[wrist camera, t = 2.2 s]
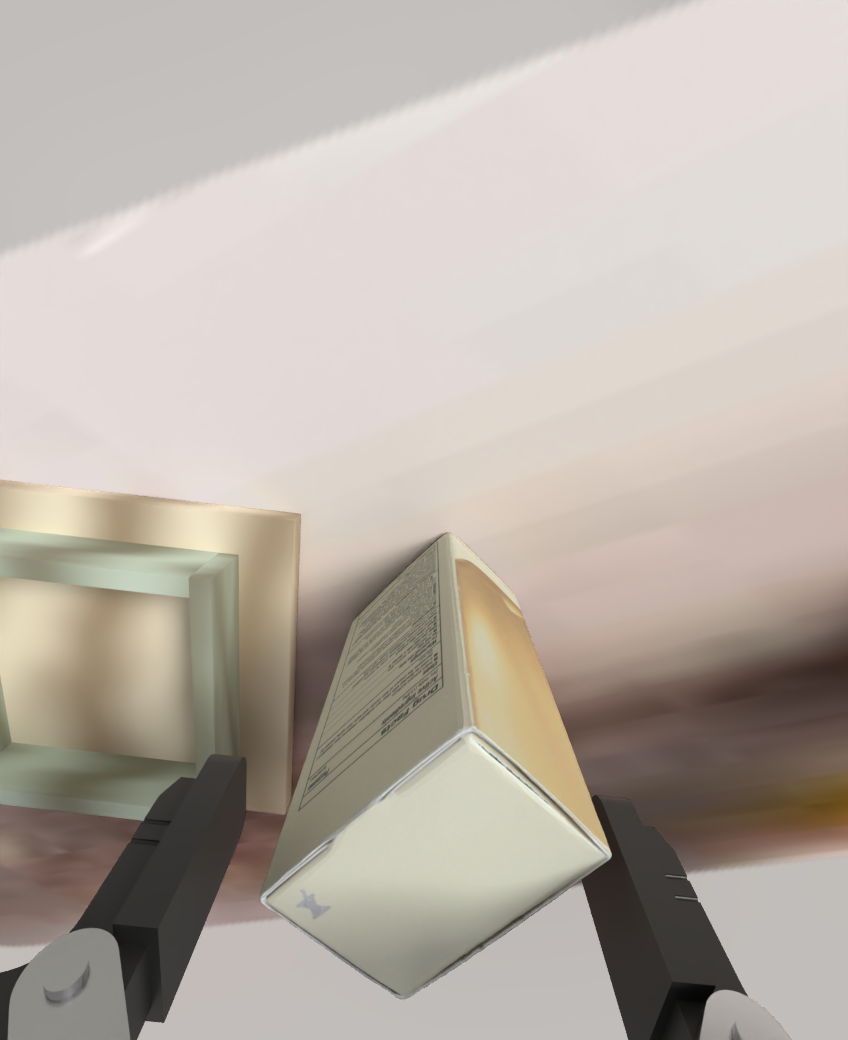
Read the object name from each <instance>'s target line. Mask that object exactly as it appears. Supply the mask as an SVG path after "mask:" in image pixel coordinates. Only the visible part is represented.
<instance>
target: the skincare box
mask: <svg viewBox="0 0 848 1040" xmlns="http://www.w3.org/2000/svg"><path fill="white" fill-rule="evenodd" d="M611 856H612V853H611V851H610V848H609V845H608V843H607V840H606V837H605V834H604V831H603V829H602V826H601V824H600V821H599V819H598V816H597V814H596V811H595V808H594V805H593V803H592V800H591V797H590V794H589V791H588V789H587V786H586V784H585V781H584V778H583V776H582V773H581V770H580V768H579V765H578V762H577V760H576V757H575V754H574V751H573V749H572V746H571V743H570V741H569V738H568V735H567V732H566V730H565V727H564V725H563V722H562V720H561V717H560V714H559V711H558V709H557V706H556V703H555V701H554V698H553V695H552V693H551V690H550V687H549V684H548V682H547V679H546V676H545V674H544V671H543V668H542V665H541V663H540V660H539V658H538V655H537V652H536V650H535V647H534V644H533V642H532V639H531V636H530V634H529V631H528V629H527V626H526V623H525V620H524V618H523V615H522V612H521V610H520V607H519V604H518V602H517V599H516V597H515V595H514V594H513V593H512V592H511V591H510V590H509V589H508V587H507V586H506V585H505V584H504V583H503V582H502V581H501V580H500V579H499V578H498V577H497V576H496V575H495V574H494V573H493V572H492V571H491V570H490V569H489V568H488V567H487V566H486V565H485V564H484V563H483V562H482V561H481V560H480V559H479V558H478V557H477V556H476V555H475V554H474V553H473V552H472V551H471V550H470V549H469V548H468V547H467V546H466V545H465V544H464V543H463V542H462V541H461V540H460V539H459V538H457V537H456V536H455V535H454V534H452V533H450V532H449V533H445V534H444V535H443V536H442V537H441V538H439V539H438V540H437V541H436V542H435V543H434V544H433V545H431V546H430V547H429V548H428V549H427V550H426V551H425V552H424V553H423V554H421V555H420V556H419V557H418V558H417V559H416V560H415V561H414V562H413V563H412V564H411V565H409V566H408V567H407V568H406V569H405V570H404V571H403V572H402V573H401V574H400V575H399V576H398V577H397V578H396V579H395V580H394V581H393V582H392V583H391V584H390V585H388V586H387V587H386V588H385V589H384V590H383V591H382V592H381V593H380V594H379V595H378V596H377V597H376V598H375V599H374V600H373V601H372V602H371V603H370V604H369V605H368V606H367V607H366V608H365V609H364V610H363V611H362V612H361V613H360V615H359V616H358V617H357V618H355V619H354V621H353V622H352V624H351V627H350V630H349V633H348V636H347V639H346V642H345V645H344V648H343V651H342V654H341V657H340V660H339V663H338V666H337V669H336V672H335V675H334V678H333V681H332V684H331V686H330V689H329V692H328V695H327V698H326V701H325V704H324V707H323V710H322V713H321V716H320V719H319V722H318V725H317V728H316V731H315V734H314V737H313V740H312V742H311V745H310V748H309V751H308V754H307V757H306V760H305V763H304V766H303V769H302V772H301V775H300V778H299V781H298V784H297V787H296V789H295V792H294V795H293V798H292V801H291V804H290V807H289V810H288V813H287V817H286V819H285V822H284V825H283V828H282V831H281V834H280V837H279V840H278V843H277V845H276V849H275V852H274V855H273V858H272V861H271V864H270V867H269V870H268V872H267V876H266V879H265V881H264V884H263V887H262V889H261V893H260V896H259V899H260V902H261V903H262V904H264V905H265V906H266V907H267V908H268V909H270V910H271V911H273V912H275V913H276V914H278V915H279V916H281V917H283V918H284V919H286V920H287V921H288V922H289V923H290V924H292V925H293V926H294V927H296V928H297V929H299V930H300V931H301V932H303V933H304V934H306V935H307V936H309V937H310V938H311V939H313V940H314V941H316V942H317V943H318V944H320V945H321V946H323V947H324V948H325V949H327V950H329V951H330V952H331V953H333V954H334V955H335V956H337V957H338V958H339V959H341V960H342V961H344V962H345V963H347V964H348V965H350V966H351V967H353V968H354V969H355V970H357V971H358V972H359V973H361V974H362V975H364V976H365V977H367V978H368V979H370V980H371V981H373V982H374V983H376V984H378V985H380V986H381V987H382V988H384V989H386V990H388V991H389V992H391V993H392V994H393V995H394V996H395V997H397V998H399V999H407V998H409V997H411V996H412V995H414V994H415V993H416V992H418V991H420V990H421V989H423V988H425V987H427V986H428V985H429V984H431V983H433V982H434V981H436V980H437V979H439V978H440V977H442V976H444V975H446V974H447V973H448V972H449V971H451V970H453V969H455V968H456V967H458V966H459V965H461V964H462V963H463V962H466V961H467V960H468V959H470V958H471V957H472V956H473V955H475V954H477V953H478V952H480V951H481V950H483V949H484V948H486V947H487V946H488V945H490V944H491V943H493V942H494V941H496V940H497V939H499V938H501V937H502V936H503V935H505V934H506V933H507V932H509V931H510V930H512V929H513V928H514V927H516V926H518V925H519V924H520V923H522V922H523V921H525V920H526V919H527V918H529V917H530V916H532V915H533V914H534V913H536V912H538V911H539V910H540V909H541V908H543V907H544V906H546V905H547V904H549V903H550V902H552V901H553V900H555V899H556V898H557V897H559V896H560V895H561V894H563V893H564V892H565V891H566V890H568V889H569V888H571V887H572V886H574V885H575V884H577V883H578V882H579V881H580V880H582V879H583V878H584V877H585V876H587V875H588V874H590V873H591V872H593V871H594V870H595V869H597V868H598V867H600V866H601V865H603V864H604V863H605V862H607V861H608V860H610V858H611Z"/></svg>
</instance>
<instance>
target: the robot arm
mask: <svg viewBox="0 0 848 1040" xmlns="http://www.w3.org/2000/svg"><path fill="white" fill-rule="evenodd" d="M246 779H247V762H246V758H245V757H238V756H229V755H219V754H211V755H210V756H209V757H208V759H207V760H206V762H205V764H204V766H203V767H202V769H201V771H200V773H199V774H198V776H197V778H186V777H180V778H179V779H178V780H177V781H176V782H174V783H173V784H172V785H171V786H170V787H169V788H167V789H166V790H165V791H164V792H163V793H162V794H160V795H159V796H158V798H157V800H156V801H155V803H154V804H153V806H152V807H151V809H150V811H149V812H148V814H147V815H146V817H145V818H144V822H143V823H141V825H140V826H139V828H138V829H137V831H136V832H135V834H134V836H133V837H132V841H131V843H128V845H127V847H126V848H125V850H124V851H123V853H122V854H121V856H120V858H119V859H118V861H117V862H116V864H115V865H114V867H113V868H112V870H111V872H110V873H109V875H108V876H107V878H106V879H105V881H104V883H103V884H102V886H101V887H100V889H99V890H98V892H97V894H96V895H95V897H94V898H93V900H92V901H91V903H90V904H89V906H88V908H87V909H86V911H85V912H84V914H83V915H82V917H81V918H80V920H79V921H78V923H77V924H76V925H75V927H74V928H73V929H72V930H71V931H70V933H69V934H66V935H64V936H62V937H60V938H59V939H57V940H55V941H54V942H52V943H51V944H49V945H48V946H47V947H45V948H44V949H43V950H42V951H41V952H39V954H37V956H35V958H34V959H33V960H31V962H30V963H28V964H25V965H23V966H21V967H18V968H15V969H12V970H9V971H5V972H1V973H0V1040H137V1038H138V1036H139V1034H140V1031H141V1029H142V1027H143V1025H144V1022H145V1021H152V1022H162V1023H164V1021H165V1019H166V1017H167V1014H168V1011H169V1009H170V1007H171V1005H172V1002H173V1000H174V997H175V995H176V992H177V990H178V987H179V985H180V982H181V980H182V978H183V975H184V973H185V970H186V968H187V965H188V963H189V960H190V958H191V956H192V953H193V951H194V948H195V946H196V943H197V941H198V939H199V936H200V934H201V931H202V929H203V926H204V924H205V922H206V919H207V917H208V914H209V912H210V909H211V907H212V904H213V902H214V900H215V897H216V895H217V892H218V890H219V887H220V885H221V882H222V880H223V878H224V875H225V873H226V870H227V868H228V865H229V863H230V860H231V858H232V856H233V853H234V851H235V848H236V846H237V843H238V841H239V838H240V835H241V832H242V829H243V825H244V820H245V814H246ZM591 800H592V803H593V805H594V808H595V811H596V814H597V816H598V819H599V821H600V824H601V826H602V829H603V831H604V834H605V837H606V840H607V843H608V845H609V848H610V851H611V853H612V856H611V858H610V860H608V861H607V862H605V863H604V864H603V865H601V866H600V867H598V868H597V869H595V870H594V871H593V872H591V873H590V874H588V875H587V876H585V877H584V878H583V879H582V883H583V886H584V890H585V893H586V896H587V900H588V903H589V907H590V910H591V914H592V917H593V920H594V924H595V927H596V931H597V934H598V937H599V941H600V944H601V948H602V951H603V954H604V958H605V961H606V965H607V968H608V972H609V975H610V979H611V982H612V985H613V989H614V992H615V996H616V999H617V1003H618V1006H619V1009H620V1013H621V1016H622V1019H623V1023H624V1026H625V1030H626V1033H627V1037H628V1040H791V1038H790V1037H789V1035H788V1034H787V1032H786V1031H785V1030H784V1028H783V1027H782V1026H781V1024H780V1023H779V1022H778V1021H777V1020H776V1019H775V1018H774V1017H773V1016H772V1015H771V1014H770V1013H769V1012H768V1011H767V1010H766V1009H765V1008H764V1007H762V1006H761V1005H760V1004H759V1003H757V1002H756V1001H754V1000H753V999H751V998H749V997H748V995H747V994H746V992H745V990H744V988H743V987H742V985H741V983H740V981H739V979H738V977H737V975H736V973H735V971H734V969H733V967H732V965H731V963H730V961H729V959H728V957H727V955H726V953H725V951H724V949H723V947H722V945H721V943H720V941H719V939H718V937H717V935H716V933H715V931H714V929H713V927H712V925H711V923H710V921H709V919H708V917H707V915H706V913H705V911H704V909H703V907H702V905H701V903H699V902H698V900H697V895H696V893H695V891H694V889H693V887H692V885H691V883H690V881H688V880H687V875H686V873H685V871H684V869H683V867H682V865H681V863H680V861H679V859H678V857H677V855H676V853H675V851H674V850H673V849H672V847H671V846H670V845H669V844H668V843H667V842H666V841H665V840H664V838H663V837H662V836H661V835H660V834H659V833H658V832H657V830H656V829H655V828H653V827H644V826H642V824H641V821H640V819H639V817H638V815H637V813H636V811H635V808H634V806H633V804H632V803H631V801H630V800H628V799H626V798H616V797H607V796H597V795H595V796H593V797H592V799H591Z"/></svg>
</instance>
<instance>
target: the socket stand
mask: <svg viewBox="0 0 848 1040" xmlns="http://www.w3.org/2000/svg"><path fill="white" fill-rule="evenodd" d="M300 523H301V514H297V513H288V512H279V511H270V510H261V509H253V508H244V507H235V506H226V505H217V504H208V503H199V502H191V501H182V500H173V499H164V498H155V497H146V496H137V495H129V494H120V493H111V492H102V491H93V490H84V489H75V488H67V487H58V486H49V485H40V484H31V483H22V482H13V481H5V480H0V804H2V805H11V806H20V807H29V808H37V809H46V810H55V811H63V812H72V813H81V814H90V815H98V816H107V817H116V818H125V819H133V820H142V821H144V818H145V817H146V815H147V814H148V812H149V811H150V809H151V807H152V806H153V804H154V803H155V801H156V800H157V798H158V796H159V795H160V794H162V793H163V792H164V791H165V790H166V789H167V788H169V787H170V786H171V785H172V784H173V783H174V782H176V781H177V780H178V779H179V778H180V777H186V778H197V776H198V774H199V773H200V771H201V769H202V767H203V766H204V764H205V762H206V760H207V759H208V757H209V756H210V755H211V754H219V755H229V756H238V757H245V758H246V762H247V779H246V810H247V811H256V812H265V813H274V814H282V815H285V814H286V811H287V808H288V805H289V802H290V799H291V787H292V757H293V728H294V699H295V670H296V640H297V611H298V582H299V553H300Z"/></svg>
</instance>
